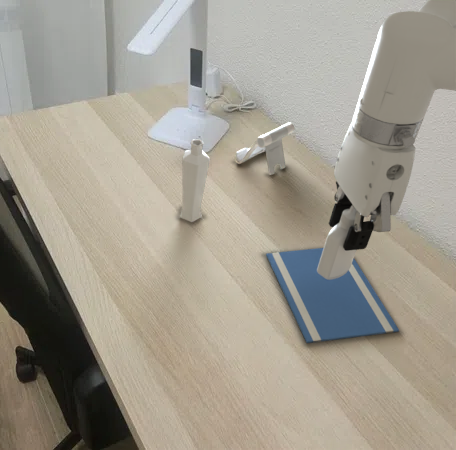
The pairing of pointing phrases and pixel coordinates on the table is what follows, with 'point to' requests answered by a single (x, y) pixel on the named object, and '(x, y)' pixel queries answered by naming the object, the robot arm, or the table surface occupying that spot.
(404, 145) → the robot arm
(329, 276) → the eye dropper bottle
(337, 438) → the table surface
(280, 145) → the tablet stand
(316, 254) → the towel
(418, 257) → the table surface
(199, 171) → the perfume bottle
